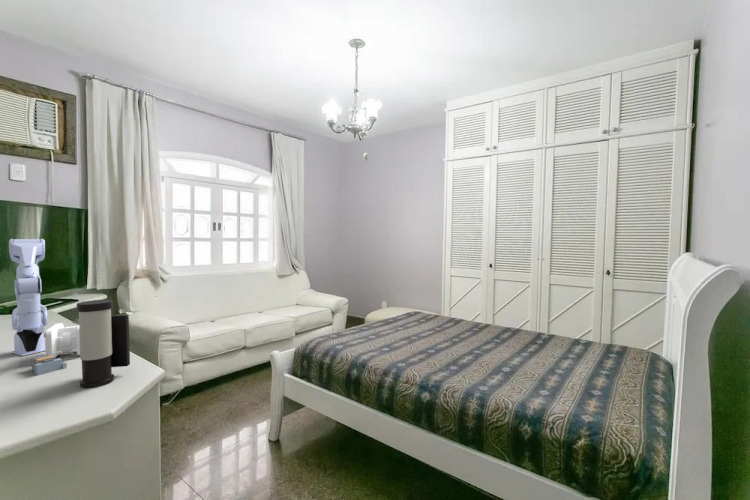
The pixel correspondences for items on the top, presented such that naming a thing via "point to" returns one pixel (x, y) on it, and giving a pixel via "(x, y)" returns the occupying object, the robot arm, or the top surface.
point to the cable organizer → (62, 339)
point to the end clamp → (48, 366)
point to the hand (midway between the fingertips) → (30, 350)
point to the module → (41, 359)
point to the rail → (63, 365)
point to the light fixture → (101, 342)
